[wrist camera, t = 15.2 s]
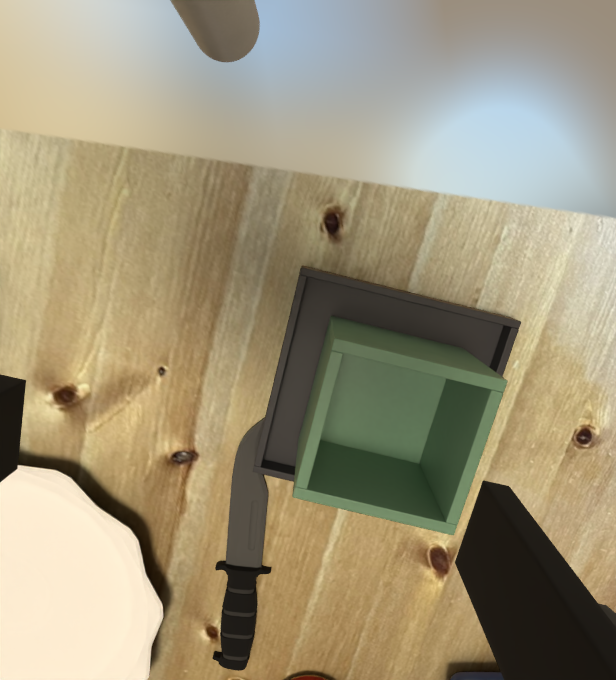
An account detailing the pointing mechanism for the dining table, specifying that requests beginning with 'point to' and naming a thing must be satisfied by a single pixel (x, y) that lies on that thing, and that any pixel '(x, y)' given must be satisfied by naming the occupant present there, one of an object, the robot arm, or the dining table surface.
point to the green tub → (395, 426)
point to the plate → (70, 585)
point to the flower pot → (477, 676)
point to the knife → (243, 554)
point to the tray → (372, 309)
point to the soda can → (309, 677)
